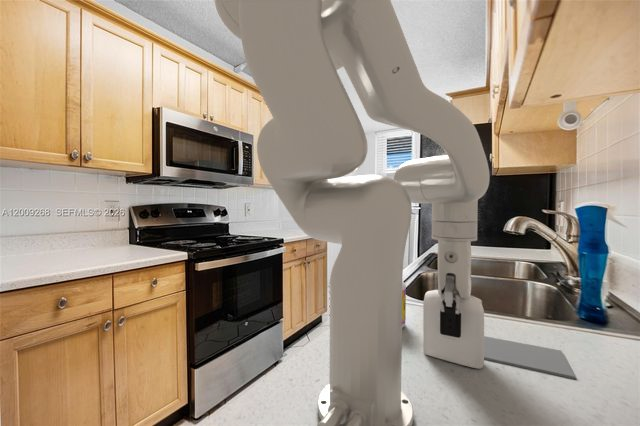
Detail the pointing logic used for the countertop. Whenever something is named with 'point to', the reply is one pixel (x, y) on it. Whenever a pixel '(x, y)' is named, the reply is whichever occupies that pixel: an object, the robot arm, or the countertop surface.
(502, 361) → the mat
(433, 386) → the countertop surface
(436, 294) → the photo printer
